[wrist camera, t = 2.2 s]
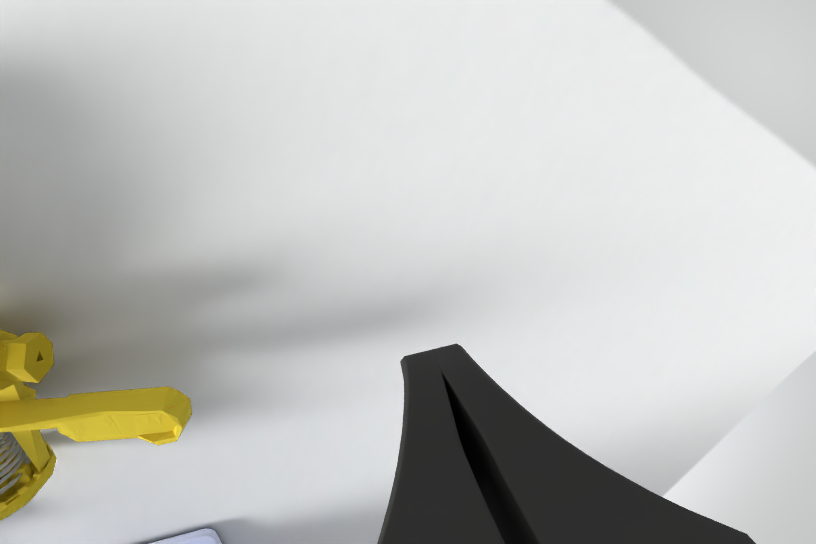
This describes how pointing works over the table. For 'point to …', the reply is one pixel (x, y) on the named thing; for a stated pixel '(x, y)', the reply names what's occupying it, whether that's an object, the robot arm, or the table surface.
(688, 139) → the table surface
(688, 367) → the table surface
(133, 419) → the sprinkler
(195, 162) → the table surface
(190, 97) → the table surface
